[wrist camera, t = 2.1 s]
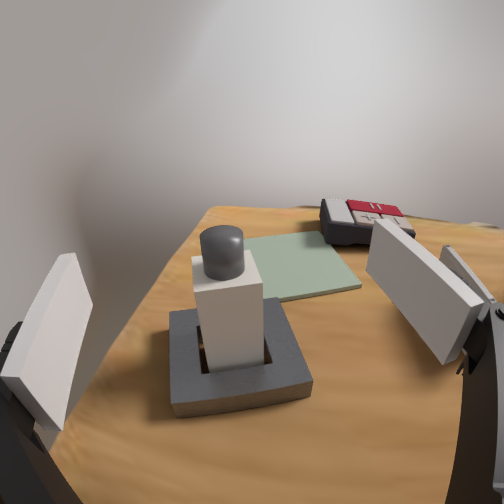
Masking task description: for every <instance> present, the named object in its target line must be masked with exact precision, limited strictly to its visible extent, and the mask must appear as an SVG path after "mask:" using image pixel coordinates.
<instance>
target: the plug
mask: <svg viewBox="0 0 504 504" xmlns="http://www.w3.org/2000/svg"><path fill="white" fill-rule="evenodd" d="M200 244H201V252H202V256H195V257H192V270H193V284H194V294H195V300H196V306H197V311H198V317H199V322H200V328H201V333H202V338H203V343H204V348H205V353H206V358H207V363H208V368H209V373H216V372H223V371H230V370H236V369H243V368H249V367H255V366H261V365H264V329H263V282H262V279H261V277H260V274H259V272H258V269H257V267H256V264H255V262H254V259H253V256H252V254H251V251H250V250H244V242H243V232H242V230H241V229H239V228H237V227H235V226H229V225H220V226H214V227H211V228H208V229H206V230H204V231H203V232H202V233H201V234H200Z"/></svg>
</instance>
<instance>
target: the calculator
mask: <svg viewBox="0 0 504 504" xmlns="http://www.w3.org/2000/svg"><path fill="white" fill-rule="evenodd" d="M319 217H320V221H321V226H322V231H323V235H324V240H325V243H327V244H336V245H346V246H348V245H351V244H353V243H359V244H368V245H370V244H371V238H372V232H373V226H374V220H375V219H386V218H388V219H389V220H390V221H392V222H393V223H394V224H396V225H397V226H398V227H399V228H401V229H402V230H403V231H404V232H406V233H407V234H408V235H409V236H411V237H412V238H413V239H415V235H416V233H415V232H414V230H413V227H412V226H411V225H410V223H409V222H408V221H407V220H406V218H404V217H403V214H402V213H401V212H400V211H399V209H398V208H397V207H396V206H391V205H384V204H377V203H370V202H363V201H355V200H347V201H344V200H340V199H331V198H325V199H322V202H321V208H320V215H319Z"/></svg>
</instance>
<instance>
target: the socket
mask: <svg viewBox="0 0 504 504" xmlns="http://www.w3.org/2000/svg"><path fill="white" fill-rule="evenodd" d="M263 329H264V353H265V356H266V359H267V362H268V364H266V365H261V366H255V367H249V368H243V369H236V370H230V371H223V372H216V373H208V374H203V368H202V359H201V350H200V343H202V342H203V338H202V333H201V328H200V322H199V317H198V311H197V308H196V309H188V310H180V311H172V312H170V313H169V358H170V397H171V405H172V408H173V410H174V412H175V415H176V417H177V418H186V417H196V416H204V415H212V414H220V413H227V412H233V411H240V410H246V409H252V408H257V407H263V406H268V405H273V404H278V403H283V402H288V401H292V400H297V399H301V398H305V397H310V396H311V391H312V385H313V378H312V376H311V374H310V371H309V369H308V366H307V364H306V362H305V359H304V357H303V355H302V352H301V350H300V348H299V345H298V343H297V341H296V338H295V336H294V334H293V331H292V329H291V327H290V324H289V322H288V320H287V317H286V315H285V313H284V310H283V308H282V306H281V303H280V301H279V299H278V297H273V298H267V299H263Z"/></svg>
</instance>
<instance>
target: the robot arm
mask: <svg viewBox="0 0 504 504" xmlns="http://www.w3.org/2000/svg"><path fill="white" fill-rule="evenodd" d="M366 271H367V272H368V274H369V275H370V276H371V277H372V278H373V279H374V281H375V282H376V283H377V284H378V285H379V286H380V288H381V289H382V290H383V291H384V292H385V294H386V295H387V296H388V297H389V298H390V299H391V301H392V302H393V303H394V304H395V306H396V307H397V308H398V309H399V310H400V312H401V313H402V314H403V315H404V317H405V318H406V319H407V320H408V321H409V323H410V324H411V325H412V326H413V328H414V329H415V330H416V331H417V333H418V334H419V335H420V337H421V338H422V339H423V340H424V342H425V343H426V344H427V346H428V347H429V348H430V349H431V351H432V352H433V353H434V355H435V356H436V357H437V359H438V360H439V361H440V363H441V364H442V365H445V364H447V363H449V362H452V361H454V360H456V359H457V357H458V356H459V354H460V352H461V350H462V348H464V350H465V351H466V352H467V354H466V355H465V357H464V359H463V361H462V363H461V364H460V366H459V368H458V369H457V372H456V374H459V373H460V371H461V369H463V368H464V370H463V374H462V375H463V392H462V405H461V416H460V425H459V433H458V441H457V447H456V454H455V459H454V465H453V470H452V475H451V480H450V485H449V489H448V493H447V497H446V501H445V504H504V304H503V303H493V304H492V305H491V304H490V303H489V302H488V301H487V300H486V299H485V298H484V297H483V296H482V295H481V294H480V293H479V292H478V291H477V290H476V289H475V288H473V287H472V286H471V285H469V283H468V282H467V281H466V280H465V279H464V280H463V277H461V276H460V275H459V274H458V273H457V272H456V271H454V270H453V269H451V268H449V267H447V266H445V265H444V264H443V263H442V262H440V261H439V260H438V259H437V258H436V257H435V256H433V255H432V254H431V253H430V252H429V251H428V250H426V249H425V248H424V247H423V246H422V245H420V244H419V243H418V242H417V241H416V240H414V239H413V238H412V237H411V236H409V235H408V234H407V233H406V232H404V231H403V230H402V229H401V228H399V227H398V226H397V225H396V224H394V223H393V222H392V221H390V220H389V219H388V218H386V219H375V220H374V226H373V232H372V238H371V244H370V250H369V256H368V261H367V267H366ZM92 306H93V304H92V302H91V299H90V296H89V293H88V290H87V288H86V285H85V282H84V279H83V276H82V273H81V270H80V267H79V263H78V260H77V257H76V254H75V253H69V254H62V255H60V256H59V257H58V259H57V260H56V262H55V264H54V266H53V267H52V269H51V271H50V272H49V274H48V276H47V278H46V280H45V281H44V283H43V285H42V287H41V288H40V290H39V292H38V294H37V296H36V298H35V300H34V302H33V304H32V305H31V307H30V310H29V311H28V313H27V315H26V317H25V320H24V321H23V322H18V323H17V324H16V325H15V326H14V327H13V329H12V330H11V331H10V333H9V334H8V336H7V338H6V341H5V344H4V345H3V347H2V349H1V352H0V504H83V503H82V501H81V500H80V499H79V498H78V496H77V495H76V493H75V492H74V491H73V489H72V488H71V486H70V485H69V484H68V482H67V481H66V479H65V478H64V476H63V475H62V473H61V472H60V470H59V469H58V467H57V466H56V464H55V463H54V461H53V459H52V458H51V456H50V455H49V453H48V451H47V450H46V448H45V446H44V444H43V443H42V441H41V439H40V437H39V436H38V434H37V433H36V432H35V431H34V429H33V427H34V423H35V421H36V422H37V423H38V424H39V425H40V426H41V427H42V428H43V429H44V430H54V431H63V425H64V420H65V414H66V408H67V404H68V399H69V393H70V389H71V385H72V380H73V376H74V372H75V368H76V363H77V359H78V355H79V352H80V348H81V344H82V340H83V337H84V333H85V330H86V326H87V323H88V319H89V316H90V313H91V309H92Z"/></svg>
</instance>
